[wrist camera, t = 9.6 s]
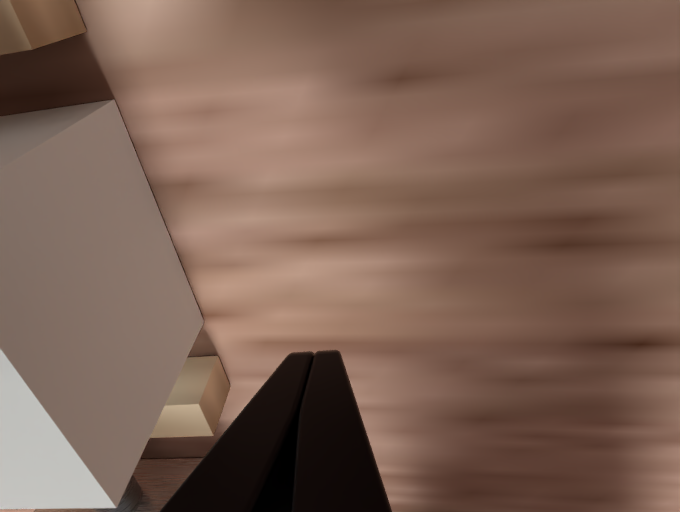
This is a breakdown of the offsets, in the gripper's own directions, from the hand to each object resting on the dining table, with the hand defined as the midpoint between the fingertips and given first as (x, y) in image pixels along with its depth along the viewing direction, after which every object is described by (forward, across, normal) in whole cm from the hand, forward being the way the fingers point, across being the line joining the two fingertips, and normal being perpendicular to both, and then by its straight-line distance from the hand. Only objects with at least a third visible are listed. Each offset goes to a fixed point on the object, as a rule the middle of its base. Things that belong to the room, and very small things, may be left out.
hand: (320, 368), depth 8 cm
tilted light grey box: (+6, +8, 0) cm, 10 cm away
